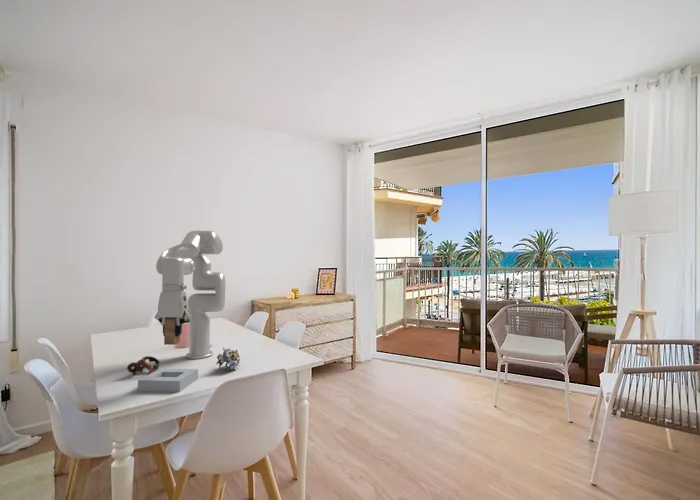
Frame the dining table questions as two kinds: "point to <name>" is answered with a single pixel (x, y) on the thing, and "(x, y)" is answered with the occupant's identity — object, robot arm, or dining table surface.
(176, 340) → the wood grain block
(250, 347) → the dining table surface
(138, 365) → the dark brown looped piece
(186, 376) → the well block
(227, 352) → the passion flower
